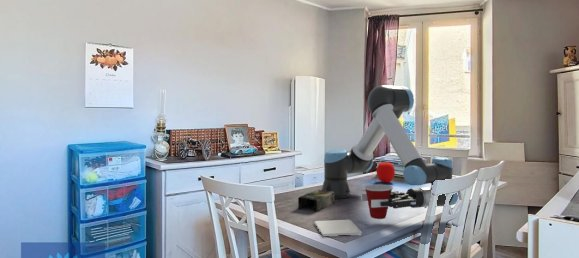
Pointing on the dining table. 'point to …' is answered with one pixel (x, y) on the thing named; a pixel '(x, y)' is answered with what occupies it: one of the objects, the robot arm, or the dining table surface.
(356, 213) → the dining table surface
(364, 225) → the dining table surface
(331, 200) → the olive boxy piece
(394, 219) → the dining table surface
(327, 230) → the cream tile
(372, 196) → the plastic cup
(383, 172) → the tomato
